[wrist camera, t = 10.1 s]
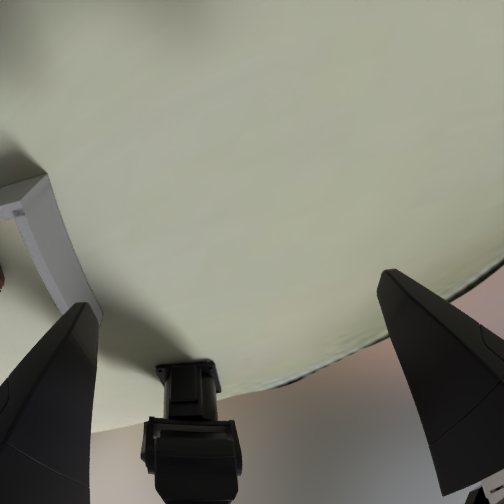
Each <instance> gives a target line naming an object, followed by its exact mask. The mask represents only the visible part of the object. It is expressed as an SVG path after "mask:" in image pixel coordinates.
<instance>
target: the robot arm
mask: <svg viewBox="0 0 504 504" xmlns="http://www.w3.org/2000/svg"><path fill="white" fill-rule="evenodd" d="M377 297H378V300H379V304H380V307H381V310H382V313H383V316H384V320H385V323H386V326H387V330H388V333H389V336H390V339H391V341H392V344H393V346H394V349H395V351H396V354H397V356H398V359H399V361H400V364H401V366H402V369H403V371H404V374H405V377H406V380H407V382H408V385H409V388H410V391H411V393H412V396H413V399H414V402H415V405H416V407H417V411H418V414H419V417H420V419H421V422H422V425H423V429H424V432H425V435H426V438H427V442H428V445H429V449H430V452H431V456H432V459H433V463H434V466H435V470H436V473H437V478H438V481H439V485H440V489H441V493H442V496H446V495H449V494H451V493H454V492H456V491H459V490H461V489H464V488H466V487H468V486H470V485H473V484H475V483H477V482H479V481H481V485H480V486H478V487H477V488H475V489H474V490H472V491H471V492H469V495H468V497H467V500H466V502H465V504H504V340H503V339H501V338H500V337H499V336H497V335H496V334H494V333H492V332H491V331H490V330H488V329H487V328H485V327H484V326H483V325H481V324H480V325H479V323H478V322H477V321H475V320H474V319H472V318H471V317H469V316H468V315H467V314H465V313H464V312H462V311H461V310H459V309H458V308H456V307H455V306H453V305H451V304H450V303H449V302H447V301H446V300H444V299H443V298H441V297H440V296H438V295H436V294H435V293H433V292H432V291H430V290H429V289H427V288H426V287H424V286H422V285H421V284H419V283H418V282H416V281H415V280H413V279H411V278H410V277H408V276H407V275H405V274H403V273H402V272H400V271H399V270H397V269H387V270H384V271H383V272H382V274H381V278H380V281H379V284H378V288H377ZM98 334H99V323H98V319H97V317H96V315H95V313H94V312H93V310H92V308H91V306H90V304H89V303H88V302H86V301H84V302H76V303H74V304H73V305H72V306H71V307H70V308H69V309H68V310H67V311H66V313H65V314H64V315H63V316H62V317H61V318H60V319H59V320H58V321H57V322H56V323H55V324H54V325H53V326H52V327H51V328H50V329H49V331H48V332H47V333H46V334H45V335H44V336H43V337H42V338H41V339H40V340H39V341H38V343H37V344H36V345H35V346H34V347H33V348H32V349H31V350H30V352H29V353H28V354H27V355H26V356H25V357H24V358H23V360H22V361H21V362H20V363H19V364H18V365H17V367H16V368H15V369H14V370H13V371H12V372H11V374H10V375H9V376H8V378H6V380H5V381H4V382H3V383H2V385H1V386H0V504H90V489H89V462H90V458H89V457H90V436H91V421H92V409H93V398H94V389H95V381H96V372H97V352H98ZM156 373H157V375H158V376H159V378H160V380H161V382H162V384H163V386H164V387H165V388H164V418H155V417H151V416H149V421H147V422H144V435H143V442H142V448H141V459H142V460H143V461H144V462H145V463H146V467H147V468H148V473H149V474H155V488H156V491H157V492H158V494H159V495H160V496H161V498H162V499H163V501H164V502H165V503H166V504H230V503H231V501H232V500H234V499H235V497H236V494H237V492H238V480H237V476H240V475H241V473H242V454H241V448H240V444H239V440H238V435H237V431H236V426H235V421H234V420H229V421H218V413H217V400H216V393H220V392H221V385H220V381H219V378H218V374H217V369H216V365H215V363H213V362H206V363H193V364H178V365H159V366H156Z"/></svg>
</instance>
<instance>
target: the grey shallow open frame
mask: <svg viewBox="0 0 504 504" xmlns="http://www.w3.org/2000/svg"><path fill="white" fill-rule="evenodd" d="M12 218H14V219H15V221H16V224H17V226H18V229H19V231H20V234H21V236H22V238H23V241H24V243H25V245H26V247H27V249H28V252H29V254H30V256H31V258H32V260H33V262H34V264H35V266H36V268H37V270H38V272H39V274H40V276H41V278H42V280H43V282H44V284H45V286H46V288H47V290H48V291H49V293H50V295H51V297H52V299H53V300H54V302H55V304H56V306H57V307H58V309H59V311H60V313H61V314H62V316H63V315H64V314H65V313H66V311H67V310H68V309H69V308H70V307H71V306H72V305H73V304H74V303H76V302H84V301H86V302H88V303H89V304H90V306H91V308H92V310H93V312H94V313H95V315H96V317H97V319H98V323H99V327H100V323H101V320H102V316H103V313H102V311H101V309H100V307H99V305H98V303H97V301H96V299H95V297H94V295H93V292H92V290H91V288H90V286H89V284H88V282H87V279H86V277H85V275H84V273H83V270H82V268H81V266H80V264H79V261H78V259H77V256H76V254H75V251H74V249H73V247H72V244H71V241H70V239H69V236H68V234H67V231H66V228H65V226H64V223H63V220H62V217H61V214H60V211H59V209H58V206H57V203H56V200H55V196H54V193H53V190H52V187H51V184H50V180H49V177H48V174H45V175H41V176H38V177H34V178H30V179H27V180H23V181H20V182H17V183H13V184H10V185H7V186H4V187H1V188H0V222H1V221H4V220H8V219H12Z"/></svg>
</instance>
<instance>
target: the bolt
mask: <svg viewBox="0 0 504 504" xmlns="http://www.w3.org/2000/svg"><path fill="white" fill-rule="evenodd" d="M4 280H5V278H4V274H3V271H2V268H1V266H0V288H1V289H2V286H3V285H4ZM0 292H1V290H0Z"/></svg>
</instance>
